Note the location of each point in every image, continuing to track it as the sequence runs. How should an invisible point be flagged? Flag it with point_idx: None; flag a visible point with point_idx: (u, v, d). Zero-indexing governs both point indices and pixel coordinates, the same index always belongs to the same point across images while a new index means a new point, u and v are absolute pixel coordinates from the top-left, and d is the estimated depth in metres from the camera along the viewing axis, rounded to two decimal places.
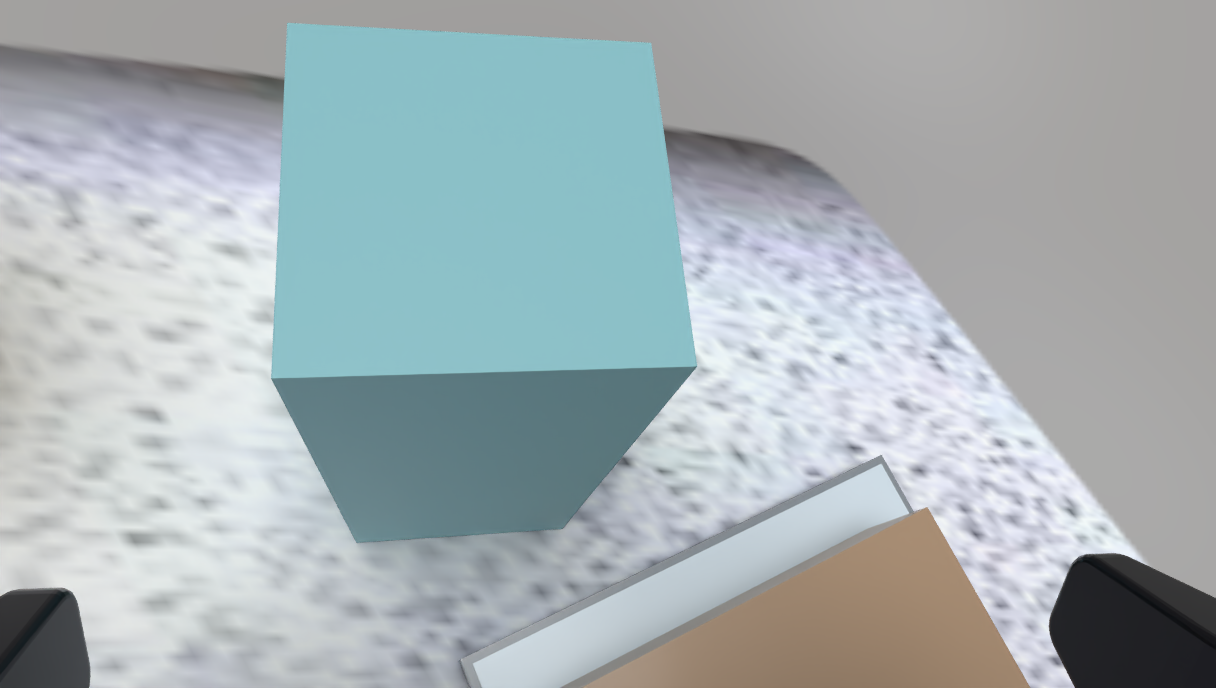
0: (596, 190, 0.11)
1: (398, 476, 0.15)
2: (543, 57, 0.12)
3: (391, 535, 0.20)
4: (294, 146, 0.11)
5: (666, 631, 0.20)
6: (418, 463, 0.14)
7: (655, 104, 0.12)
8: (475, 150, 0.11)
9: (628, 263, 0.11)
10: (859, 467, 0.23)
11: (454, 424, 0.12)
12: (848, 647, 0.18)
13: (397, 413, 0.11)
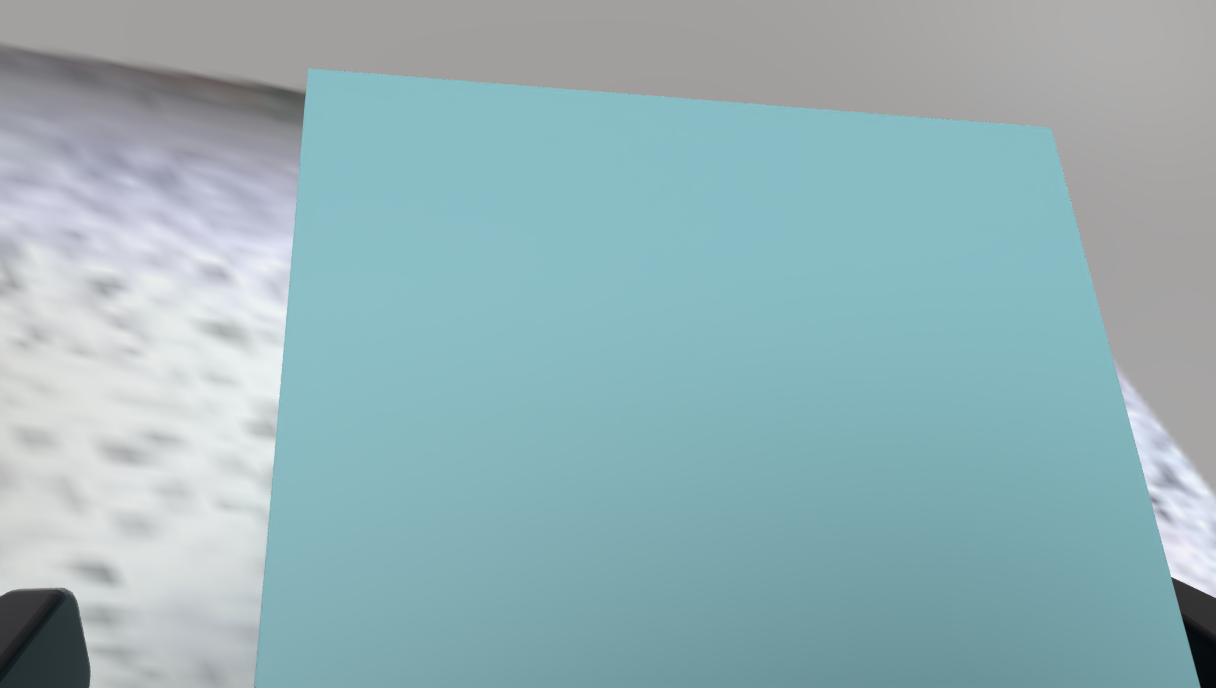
0: (991, 479, 0.05)
1: None
2: (849, 156, 0.06)
3: None
4: (312, 378, 0.04)
5: None
6: None
7: (1079, 265, 0.06)
8: (723, 382, 0.05)
9: (1084, 675, 0.05)
10: None
11: None
12: None
13: None
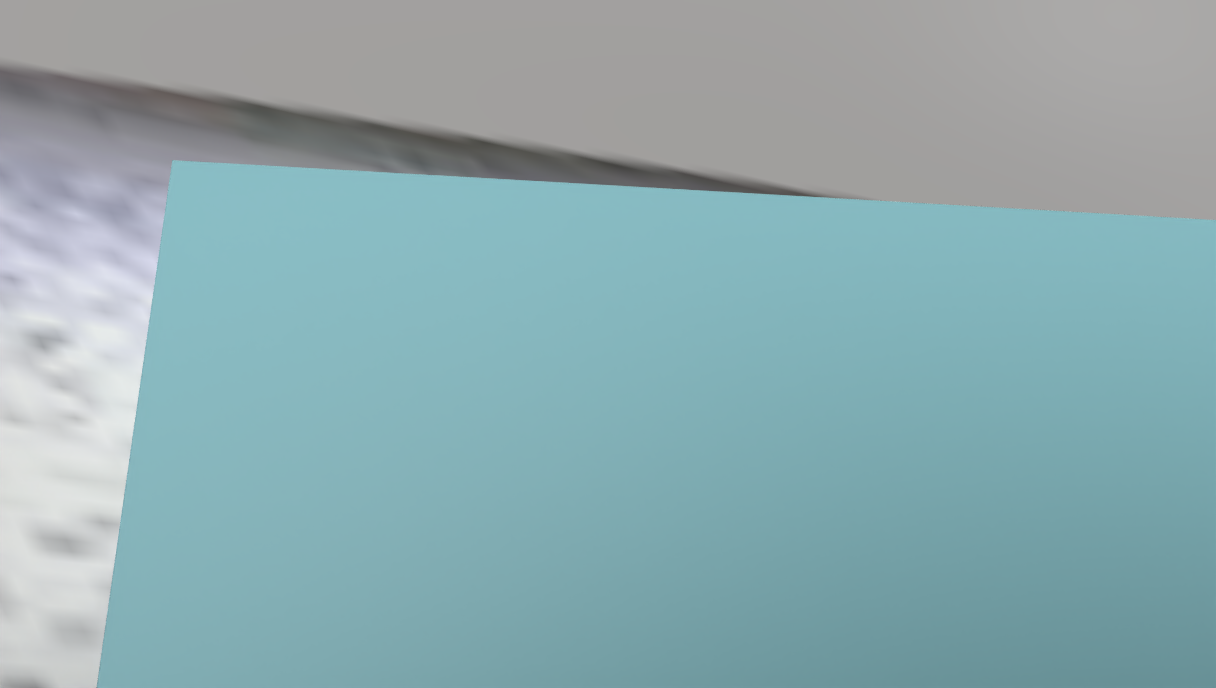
0: None
1: None
2: (1164, 303, 0.03)
3: None
4: None
5: None
6: None
7: None
8: None
9: None
10: None
11: None
12: None
13: None
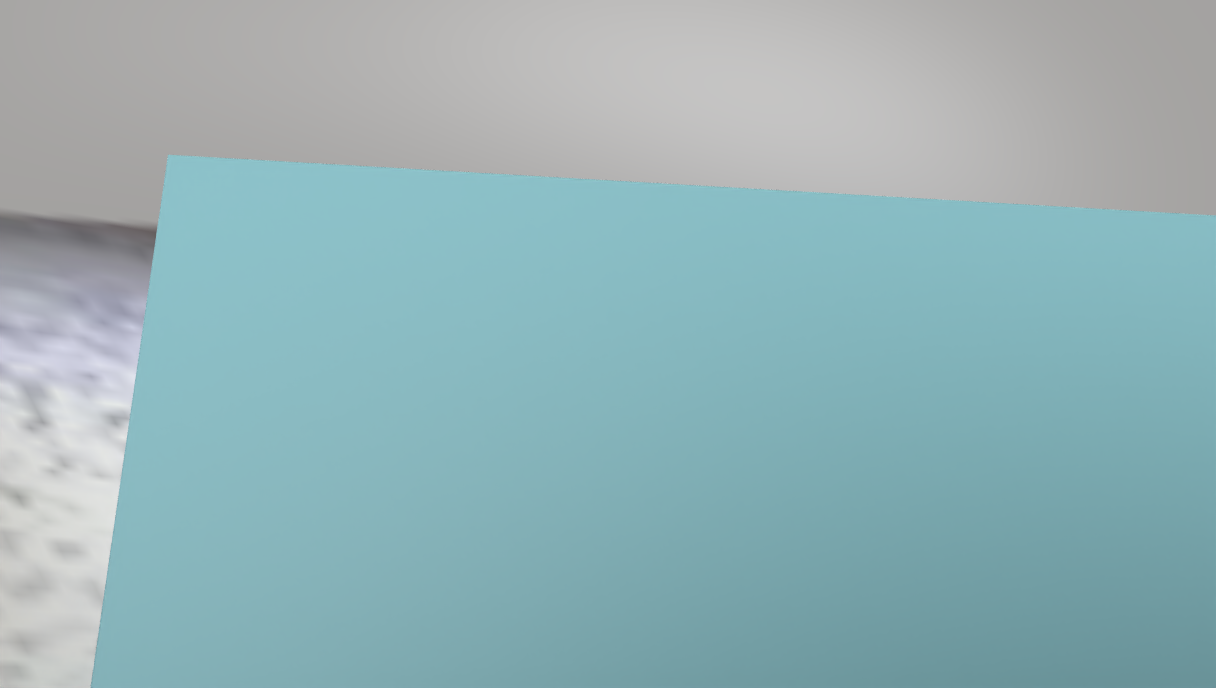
0: None
1: None
2: (1158, 297, 0.03)
3: None
4: None
5: None
6: None
7: None
8: None
9: None
10: None
11: None
12: None
13: None
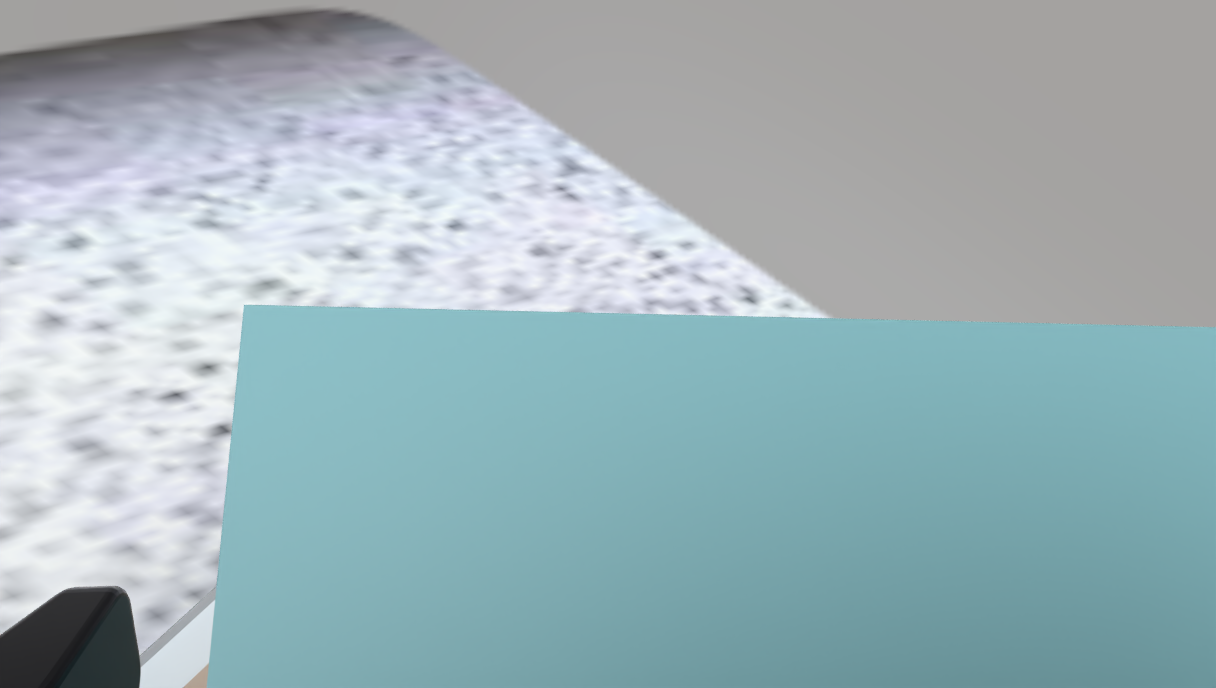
0: None
1: None
2: (979, 389, 0.04)
3: None
4: None
5: None
6: None
7: None
8: None
9: None
10: None
11: None
12: None
13: None
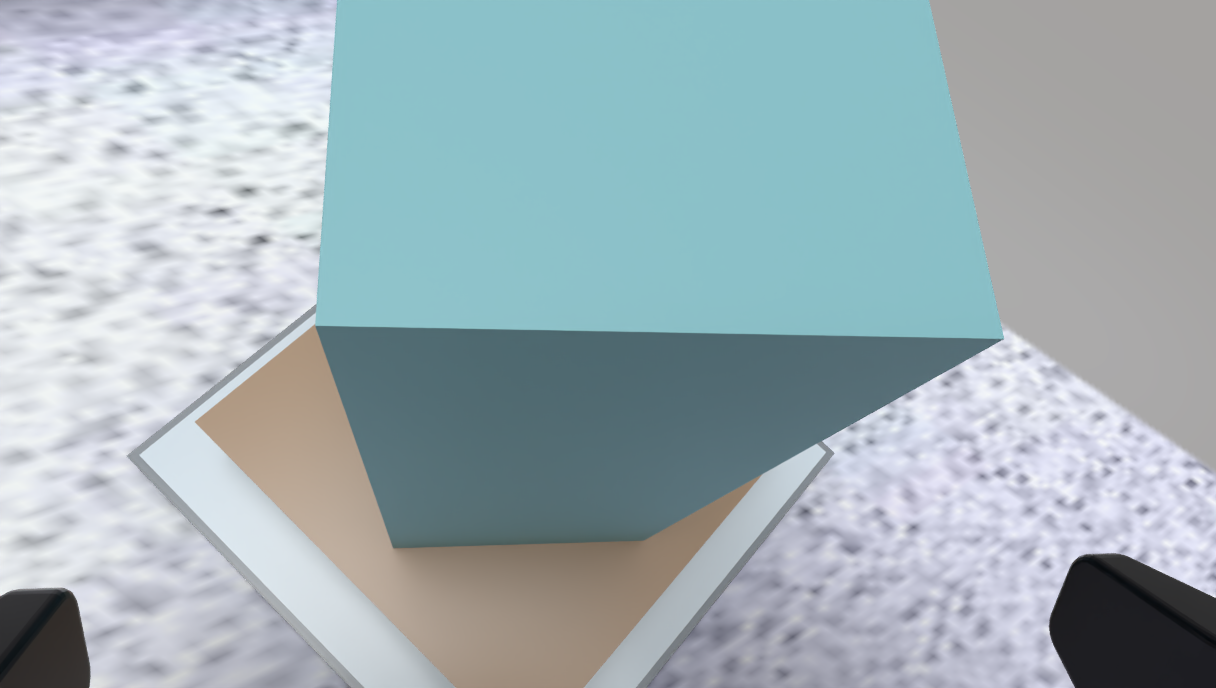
0: (830, 55, 0.07)
1: (469, 479, 0.11)
2: None
3: (437, 542, 0.16)
4: None
5: None
6: (504, 464, 0.10)
7: None
8: None
9: (887, 170, 0.07)
10: None
11: (579, 414, 0.08)
12: None
13: (502, 393, 0.07)
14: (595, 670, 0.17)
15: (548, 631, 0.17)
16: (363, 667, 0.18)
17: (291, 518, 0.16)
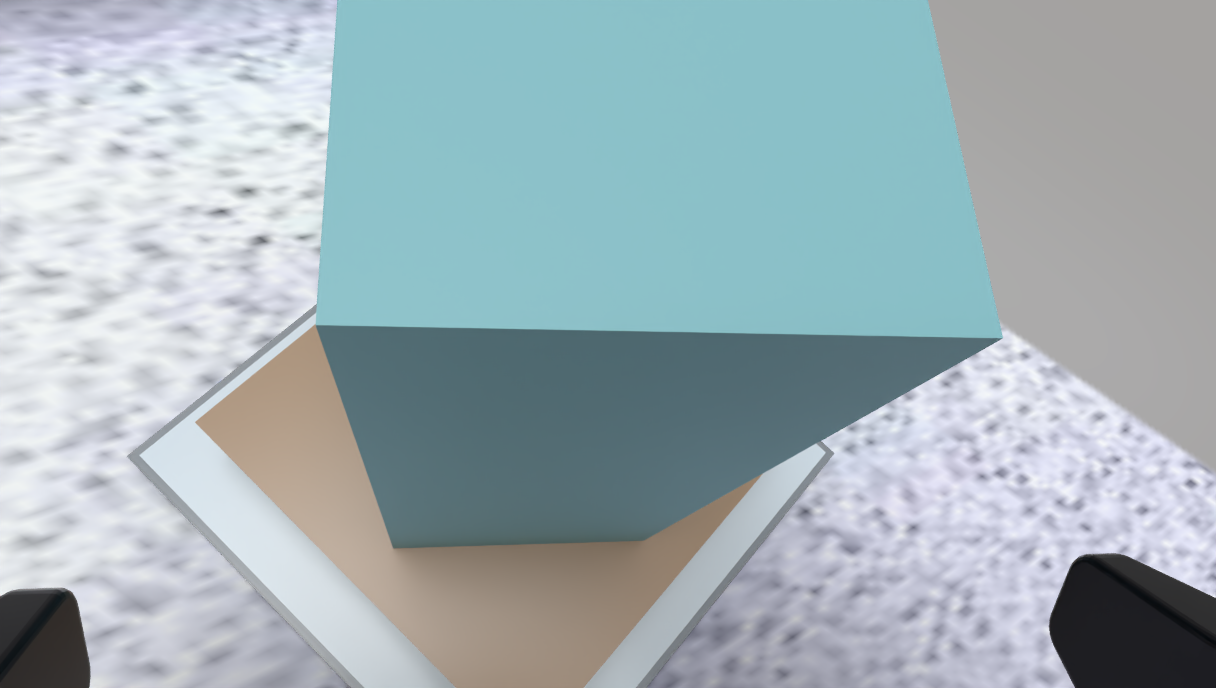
0: (830, 54, 0.07)
1: (470, 479, 0.11)
2: None
3: (438, 542, 0.16)
4: None
5: None
6: (504, 463, 0.10)
7: None
8: None
9: (885, 170, 0.07)
10: None
11: (579, 414, 0.08)
12: None
13: (502, 393, 0.07)
14: (595, 670, 0.17)
15: (548, 631, 0.17)
16: (363, 667, 0.18)
17: (291, 518, 0.16)
